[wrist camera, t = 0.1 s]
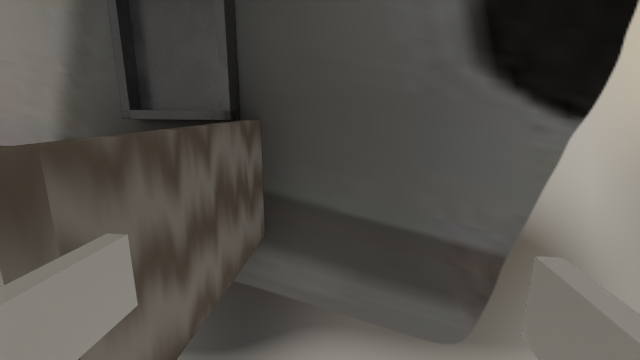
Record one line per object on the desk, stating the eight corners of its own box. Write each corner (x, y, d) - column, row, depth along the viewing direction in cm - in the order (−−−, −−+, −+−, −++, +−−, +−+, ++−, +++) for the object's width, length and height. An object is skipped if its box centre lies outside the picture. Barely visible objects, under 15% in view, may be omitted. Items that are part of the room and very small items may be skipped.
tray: (122, -26, 35) (85, -47, 31) (232, -31, 34) (212, -54, 29) (139, 117, 39) (109, 119, 34) (240, 119, 38) (223, 120, 33)
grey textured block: (129, 117, 39) (-443, 143, 11) (260, 119, 37) (-29, 154, 9) (143, 229, 43) (-267, 464, 15) (264, 236, 41) (62, 519, 13)
